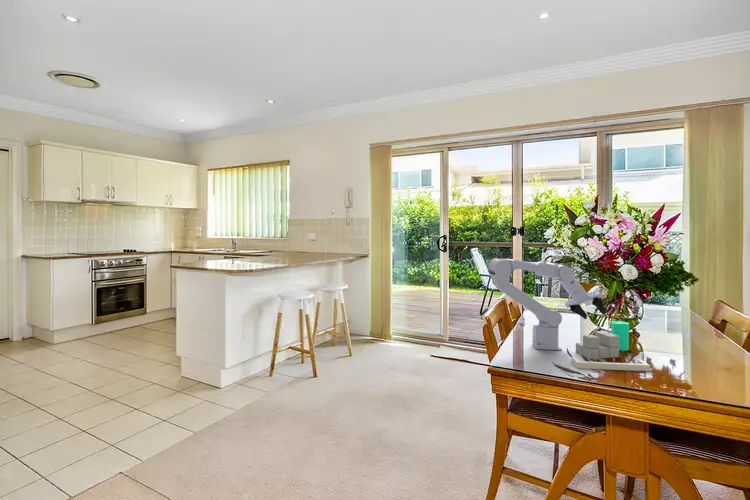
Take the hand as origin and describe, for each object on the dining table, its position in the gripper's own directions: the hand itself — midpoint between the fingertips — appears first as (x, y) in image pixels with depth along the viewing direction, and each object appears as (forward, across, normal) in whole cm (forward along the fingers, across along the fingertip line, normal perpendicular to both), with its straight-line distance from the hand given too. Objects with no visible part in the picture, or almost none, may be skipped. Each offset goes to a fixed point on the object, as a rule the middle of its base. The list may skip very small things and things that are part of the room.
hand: (595, 315), depth 160 cm
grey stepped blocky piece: (+6, +2, +16) cm, 17 cm away
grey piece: (+4, -8, +27) cm, 29 cm away
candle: (+15, -2, +4) cm, 15 cm away
